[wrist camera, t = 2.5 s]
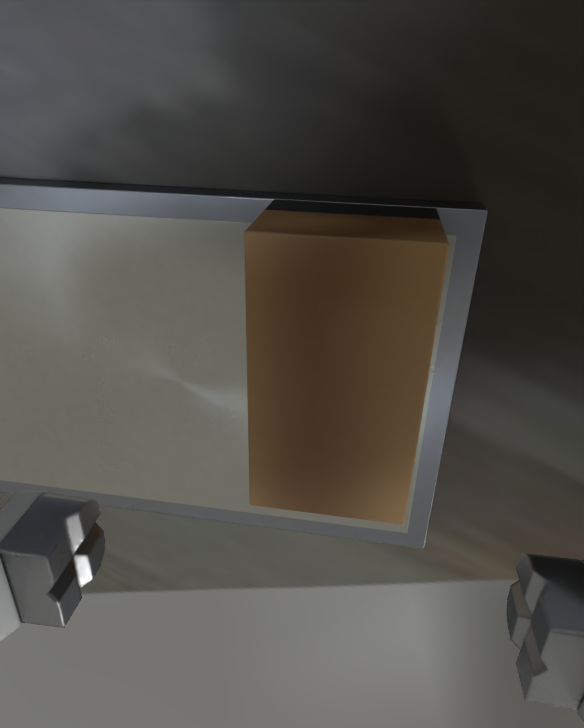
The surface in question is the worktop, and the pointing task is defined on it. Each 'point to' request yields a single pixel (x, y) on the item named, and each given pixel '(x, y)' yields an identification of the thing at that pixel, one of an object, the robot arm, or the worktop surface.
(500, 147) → the worktop surface
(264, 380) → the eraser
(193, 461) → the whiteboard
